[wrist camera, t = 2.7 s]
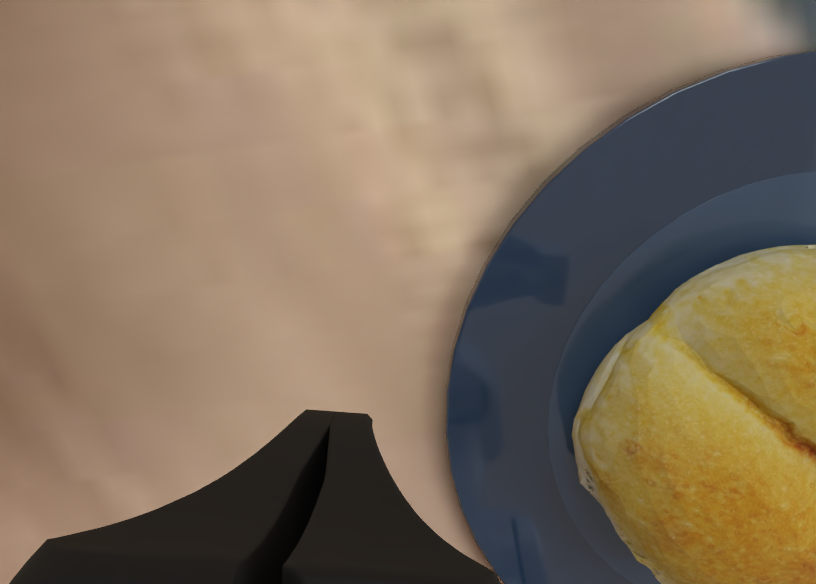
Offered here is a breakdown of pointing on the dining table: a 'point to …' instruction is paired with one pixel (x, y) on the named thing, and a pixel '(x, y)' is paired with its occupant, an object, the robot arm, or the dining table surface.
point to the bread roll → (713, 426)
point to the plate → (611, 297)
